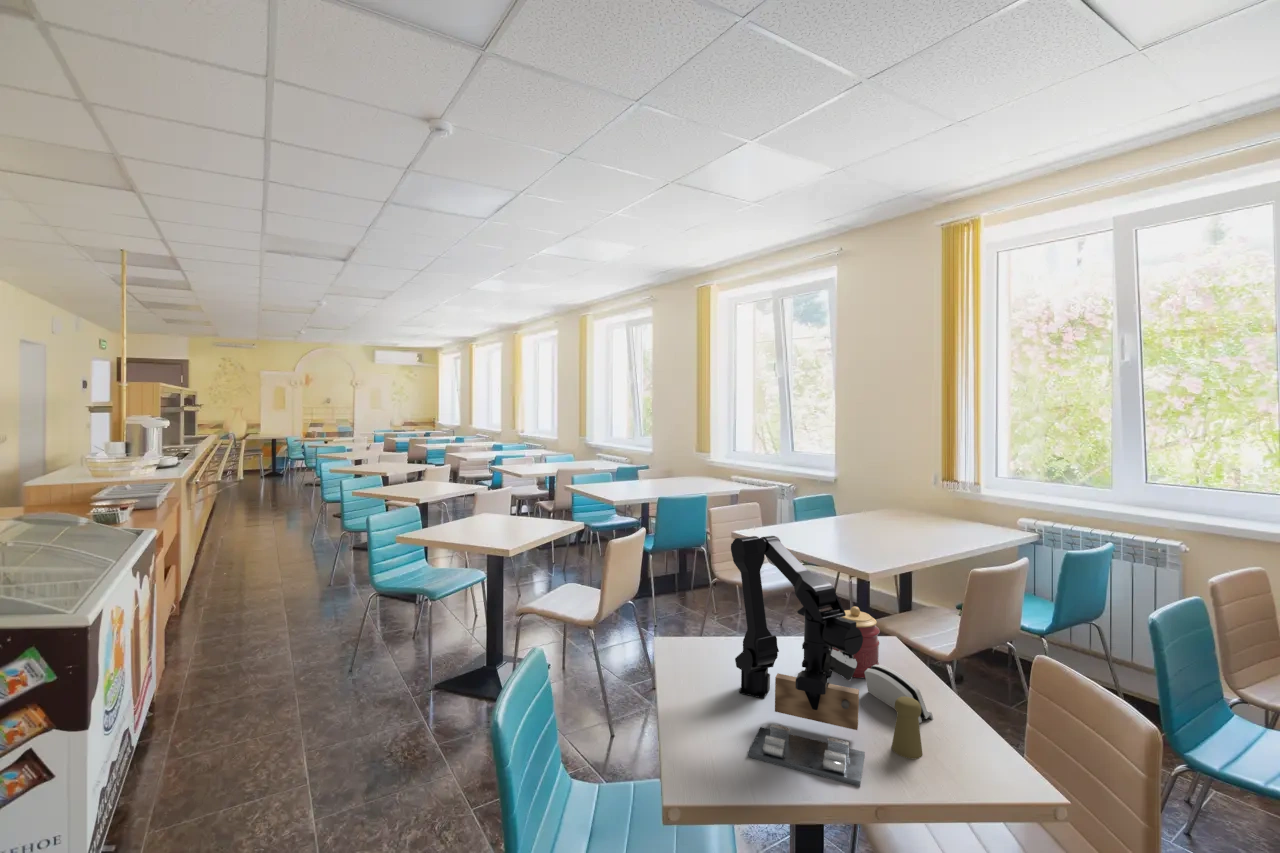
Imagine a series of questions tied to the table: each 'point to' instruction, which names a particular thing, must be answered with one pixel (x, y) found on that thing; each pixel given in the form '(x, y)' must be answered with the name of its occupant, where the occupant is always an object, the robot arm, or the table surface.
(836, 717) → the cabinet door
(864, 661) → the canister
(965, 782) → the table surface
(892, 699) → the white curved block
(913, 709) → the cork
